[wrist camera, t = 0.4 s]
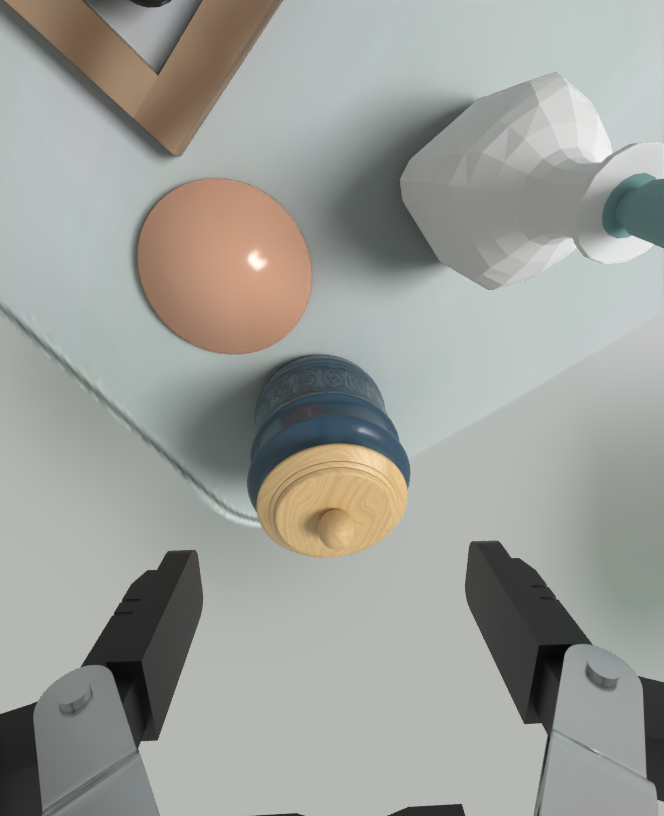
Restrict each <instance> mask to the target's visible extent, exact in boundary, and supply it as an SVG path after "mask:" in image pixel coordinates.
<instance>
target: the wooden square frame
mask: <svg viewBox="0 0 664 816" xmlns="http://www.w3.org/2000/svg"><path fill="white" fill-rule="evenodd" d="M5 1H6V2H7V3H8V4H9V5H10V6H11V7H12V8H13V9H14V10H16V11H17V12H18V13H19V14H20V15H21V16H22V17H23V18H24V19H25V20H27V21H28V22H29V23H30V24H31V25H32V26H33V27H34V28H35V29H36V30H37V31H39V32H40V33H41V34H42V35H43V36H44V37H45V38H46V39H47V40H48V41H49V42H51V43H52V44H53V45H54V46H55V47H56V48H57V49H58V50H59V51H60V52H61V53H63V54H64V55H65V56H66V57H67V58H68V59H69V60H70V61H71V62H72V63H73V64H75V65H76V66H77V67H78V68H79V69H80V70H81V71H82V72H83V73H84V74H86V75H87V76H88V77H89V78H90V79H91V80H92V81H93V82H94V83H95V84H96V85H98V86H99V87H100V88H101V89H102V90H103V91H104V92H105V93H106V94H107V95H108V96H110V97H111V98H112V99H113V100H114V101H115V102H116V103H117V104H118V105H119V106H120V107H122V108H123V109H124V110H125V111H126V112H127V113H128V114H129V115H130V116H131V117H132V118H134V119H135V120H136V121H137V122H138V123H139V124H140V125H141V126H142V127H143V128H144V129H146V130H147V131H148V132H149V133H150V134H151V135H152V136H153V137H154V138H155V139H157V140H158V141H159V142H160V143H161V144H162V145H163V146H164V147H165V148H166V149H167V150H169V151H170V152H171V153H172V154H173V155H175V156H181V155H182V154H183V152H184V151H185V149H186V148H187V146H188V145H189V143H190V141H191V140H192V138H193V137H194V135H195V134H196V132H197V131H198V129H199V128H200V126H201V125H202V123H203V122H204V120H205V119H206V117H207V116H208V114H209V112H210V111H211V109H212V108H213V106H214V105H215V103H216V102H217V100H218V99H219V97H220V96H221V94H222V93H223V91H224V90H225V88H226V87H227V85H228V83H229V82H230V80H231V79H232V77H233V76H234V74H235V73H236V71H237V70H238V68H239V67H240V65H241V64H242V62H243V61H244V59H245V58H246V56H247V54H248V53H249V51H250V50H251V48H252V47H253V45H254V44H255V42H256V41H257V39H258V38H259V36H260V35H261V33H262V32H263V30H264V29H265V27H266V25H267V24H268V22H269V21H270V19H271V18H272V16H273V15H274V13H275V12H276V10H277V9H278V7H279V6H280V4H281V3H282V1H283V0H203V1H202V2H201V4H200V6H199V8H198V9H197V11H196V13H195V14H194V16H193V18H192V19H191V21H190V23H189V24H188V26H187V28H186V30H185V31H184V33H183V35H182V36H181V38H180V40H179V41H178V43H177V45H176V47H175V48H174V50H173V52H172V53H171V55H170V57H169V58H168V60H167V62H166V63H165V65H164V67H163V69H162V70H161V72H160V74H158V73H157V72H156V71H155V70H154V69H153V68H152V67H151V66H150V65H149V64H148V63H147V62H146V61H145V60H144V59H143V58H142V57H141V56H140V55H139V54H138V53H137V52H136V51H135V50H134V49H133V48H132V47H131V46H130V45H129V44H128V43H127V42H126V41H125V40H124V39H123V38H122V37H121V36H120V35H119V34H118V33H116V32H115V31H114V30H113V29H112V28H111V27H110V26H109V25H108V24H107V23H106V22H105V21H104V20H103V19H102V18H101V17H100V16H99V15H98V14H97V13H96V12H95V11H94V10H93V9H92V8H91V7H90V6H89V5H88V4H87V3H86V2H85V1H84V0H5Z"/></svg>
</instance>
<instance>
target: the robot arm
mask: <svg viewBox="0 0 664 816" xmlns="http://www.w3.org/2000/svg"><path fill="white" fill-rule="evenodd" d="M465 592H466V598H467V602H468V605H469V607H470V610H471V612H472V614H473V616H474V618H475V621H476V623H477V625H478V627H479V629H480V631H481V633H482V636H483V638H484V640H485V642H486V644H487V646H488V648H489V650H490V652H491V655H492V657H493V659H494V661H495V663H496V665H497V667H498V669H499V671H500V674H501V676H502V678H503V680H504V682H505V684H506V686H507V688H508V690H509V693H510V694H511V697H512V699H513V701H514V703H515V705H516V707H517V710H518V712H519V714H520V716H521V718H522V720H523V722H524V724H534V723H542V725H543V727H544V728H545V730H546V732H547V734H548V737H547V741H546V747H545V752H544V758H543V764H542V770H541V775H540V781H539V787H538V793H537V799H536V804H535V811H534V816H658V804H657V800H660V801H663V802H664V682H660V681H656V680H651V679H647V678H643V677H640V676H637V675H636V673H635V672H634V670H633V669H632V668H631V667H630V666H629V665H628V664H627V663H626V662H624V661H623V660H622V659H621V658H619V657H618V656H616V655H615V654H613V653H611V652H610V651H607V650H605V649H603V648H600V647H598V646H594V645H592V643H591V642H590V641H589V639H588V638H587V637H586V635H585V634H584V633H583V631H582V630H581V629H580V628H579V626H578V625H577V624H576V622H575V621H574V620H573V618H572V617H571V616H570V615H569V613H568V612H567V611H566V609H565V608H564V607H563V605H562V604H561V603H560V602H559V600H556V596H555V595H554V594H553V592H552V591H551V590H550V588H549V587H547V585H546V583H545V582H544V581H543V579H542V578H541V577H540V575H539V574H538V573H537V571H536V570H535V569H533V568H532V567H531V566H529V565H528V564H526V563H525V562H524V561H522V560H521V559H520V558H511V557H510V556H509V554H508V553H507V551H506V550H505V549H504V547H503V546H502V544H501V543H500V542H499V541H472V542H471V543H470V546H469V554H468V563H467V572H466V581H465ZM202 605H203V591H202V584H201V576H200V568H199V561H198V554H197V552H196V551H195V550H182V551H168V552H167V553H166V555H165V557H164V558H163V560H162V562H161V564H160V565H159V567H158V569H157V570H147V571H146V572H145V573H144V574H143V575H141V576H140V577H139V578H138V579H137V580H136V581H135V582H133V583H132V584H131V586H130V588H129V589H128V591H127V593H126V594H125V596H124V597H123V599H122V603H120V604H119V606H118V607H117V609H116V611H115V612H114V616H112V617H111V619H110V620H109V622H108V623H107V625H106V627H105V628H104V630H103V632H102V633H101V635H100V636H99V638H98V640H97V641H96V643H95V645H94V647H93V648H92V650H91V652H90V653H89V654H88V656H87V658H86V659H85V661H84V663H83V664H82V666H81V667H80V668H78V669H75V670H73V671H71V672H69V673H67V674H66V675H64V676H62V677H61V678H59V679H58V680H57V681H55V682H54V683H53V684H52V685H51V686H50V687H49V688H48V689H47V690H46V691H45V692H44V693H43V695H42V696H41V697H40V699H39V701H38V702H35V703H33V704H30V705H27V706H24V707H21V708H18V709H15V710H12V711H9V712H6V713H2V714H0V816H160V814H159V811H158V807H157V805H156V801H155V798H154V795H153V792H152V789H151V786H150V783H149V780H148V777H147V773H146V770H145V767H144V764H143V762H142V758H141V755H140V753H139V750H138V747H139V744H140V742H141V741H153V740H154V741H155V740H158V738H159V735H160V732H161V729H162V726H163V723H164V721H165V718H166V715H167V712H168V709H169V706H170V703H171V700H172V697H173V695H174V692H175V689H176V686H177V683H178V680H179V677H180V674H181V671H182V668H183V666H184V663H185V660H186V657H187V654H188V651H189V648H190V645H191V643H192V640H193V637H194V634H195V631H196V628H197V625H198V622H199V619H200V616H201V612H202ZM257 816H304V815H300V814H297V813H294V814H275V815H257ZM388 816H465V814H464V810H463V807H462V804H453V805H436V806H418V807H407V808H405V809H402V810H400V811H398V812H395V813H393V814H391V815H388Z"/></svg>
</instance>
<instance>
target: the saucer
mask: <svg viewBox="0 0 664 816" xmlns="http://www.w3.org/2000/svg"><path fill="white" fill-rule="evenodd" d="M137 260H138V271H139V275H140V280H141V283H142V286H143V289H144V292H145V294H146V296H147V298H148V300H149V303H150V304H151V306H152V307H153V309H154V310H155V312H156V313H157V315H158V316H159V317H160V318H161V320H162V321H163V322H164V323H165V324H166V325H167V326H168V327H169V328H170V329H171V330H172V331H174V332H175V333H176V334H177V335H179V336H180V337H181V338H183V339H185V340H186V341H188V342H189V343H192V344H194V345H196V346H198V347H200V348H203V349H206V350H208V351H212V352H217V353H223V354H246V353H252V352H256V351H260V350H262V349H265V348H267V347H269V346H271V345H273V344H275V343H277V342H278V341H280V340H281V339H282V338H284V337H285V336H286V335H287V334H288V333H289V332H290V331H291V330H292V329H293V328H294V327H295V325H296V324H297V323H298V321H299V320H300V318H301V316H302V315H303V313H304V311H305V308H306V306H307V303H308V300H309V296H310V291H311V284H312V269H311V260H310V256H309V252H308V248H307V245H306V243H305V240H304V237H303V235H302V233H301V231H300V229H299V228H298V226H297V224H296V223H295V221H294V220H293V218H292V217H291V216H290V214H289V213H288V212H287V211H286V210H285V209H284V208H283V207H282V206H281V205H280V204H279V203H278V202H277V201H276V200H274V199H273V198H272V197H271V196H269V195H268V194H266V193H265V192H263V191H261V190H259V189H257V188H255V187H253V186H251V185H249V184H246V183H243V182H240V181H235V180H230V179H217V178H213V179H204V180H198V181H194V182H190V183H187V184H185V185H183V186H180V187H178V188H176V189H175V190H173V191H171V192H170V193H168V194H167V195H166V196H165V197H164V198H162V199H161V200H160V201H159V202H158V203H157V204H156V206H155V207H154V208H153V209H152V211H151V212H150V214H149V216H148V217H147V219H146V221H145V223H144V226H143V228H142V231H141V234H140V238H139V243H138V254H137Z"/></svg>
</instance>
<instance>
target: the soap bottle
mask: <svg viewBox="0 0 664 816" xmlns="http://www.w3.org/2000/svg"><path fill="white" fill-rule="evenodd" d="M400 187H401V194H402V201H403V203H404V204H405V206H406V207H407V209H408V211H409V212H410V214H411V216H412V217H413V219H414V220H415V222H416V224H417V225H418V227H419V229H420V230H421V232H422V233H423V235H424V237H425V238H426V240H427V242H428V243H429V245H430V246H431V248H432V250H433V251H434V253H435V255H436V256H437V258H438V259H439V261H440V262H442V263H443V264H445V265H447V266H448V267H450V268H452V269H453V270H455V271H457V272H458V273H460V274H462V275H463V276H465V277H467V278H468V279H470V280H472V281H473V282H475V283H477V284H479V285H481V286H482V287H484V288H486V289H488V290H494V289H498V288H501V287H505V286H508V285H512V284H515V283H519V282H522V281H525V280H528V279H530V278H532V277H534V276H535V275H537V274H539V273H541V272H542V271H544V270H545V269H547V268H549V267H550V266H552V265H553V264H555V263H557V262H558V261H560V260H561V259H563V258H564V257H566V256H567V255H568V254H570V253H571V252H572V251H573V250H574V249H576V248H578V249H579V250H580V252H581V253H582V254H583V256H584V257H587V258H590V259H592V260H595V261H598V262H600V263H604V264H612V263H621V262H626V261H628V260H630V259H632V258H634V257H636V256H638V255H641V254H643V253H645V252H646V251H647V250H648V249H649V248H651V247H652V246H653V245H654V244H655V245H657V246H660V247H662V248H664V143H662V142H660V141H658V142H647V143H636V144H629V145H627V146H626V147H624V148H622V149H620V150H618V151H616V152H615V153H612V148H611V144H610V141H609V138H608V136H607V134H606V131H605V129H604V127H603V124H602V122H601V120H600V117H599V115H598V113H597V111H596V110H595V108H594V106H593V104H592V103H591V101H589V100H588V99H587V98H586V97H585V96H584V95H583V94H582V93H581V92H580V91H579V90H577V89H576V88H575V87H574V86H573V85H572V84H571V83H569V82H568V81H567V80H566V79H565V78H564V77H562V76H561V75H560V74H558V73H557V72H553V73H550V74H547V75H544V76H541V77H538V78H535V79H533V80H530V81H527V82H524V83H521V84H518V85H516V86H513V87H510V88H507V89H505V90H502V91H499V92H496V93H494V94H491V95H488V96H485V97H482V98H480V99H478V100H477V101H475V102H474V103H473V104H472V105H471V106H470V107H469V108H467V109H466V110H465V111H464V112H463V113H462V114H461V115H460V116H458V117H457V118H456V119H455V120H454V121H453V122H452V123H451V124H449V125H448V126H447V127H446V128H445V129H444V130H443V131H441V132H440V133H439V134H438V135H437V136H436V137H435V138H434V139H432V140H431V141H430V142H429V143H428V144H427V145H426V146H425V147H423V148H422V149H421V150H420V151H419V152H418V153H417V154H416V155H414V156H413V157H412V158H411V159H410V160H409V162H408V164H407V166H406V168H405V170H404V172H403V174H402V176H401V178H400Z"/></svg>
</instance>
